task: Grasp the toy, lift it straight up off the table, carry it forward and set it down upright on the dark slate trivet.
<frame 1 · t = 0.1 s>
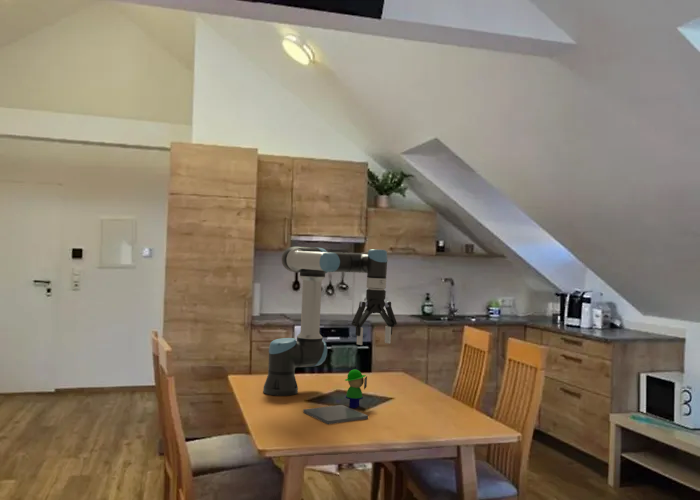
hand: (373, 343, 235), 28 cm above the table, fingers open, 13 cm apart
trivet: (335, 415, 233), on the table
toy: (354, 406, 249), on the table
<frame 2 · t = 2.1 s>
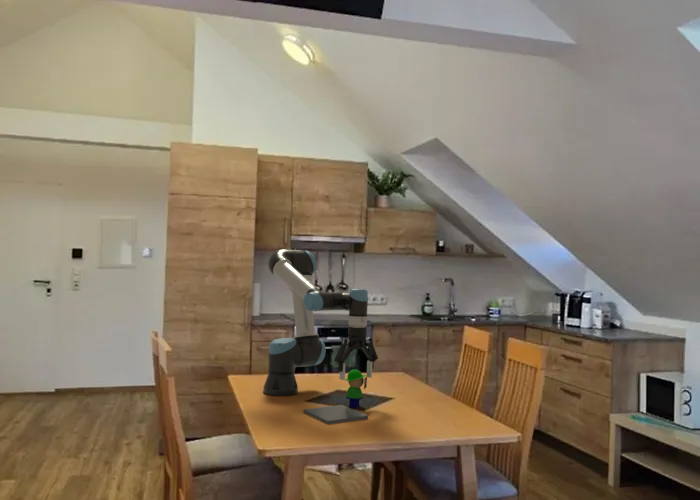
hand: (355, 378, 248), 11 cm above the table, fingers open, 13 cm apart
nothing on the table moved.
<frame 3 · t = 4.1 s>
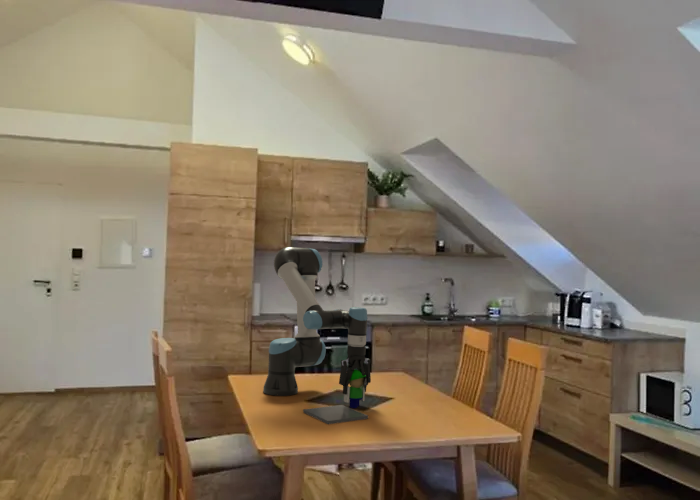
hand: (354, 401, 248), 2 cm above the table, fingers closed on toy, 7 cm apart
toy: (354, 406, 249), on the table, touching gripper
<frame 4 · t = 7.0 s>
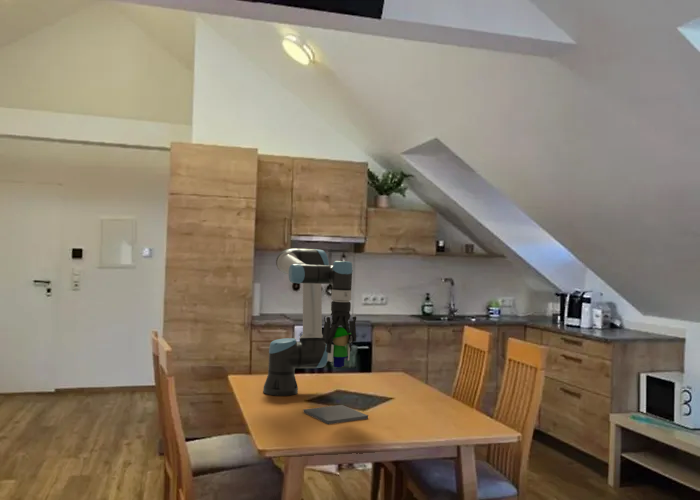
hand: (338, 360, 233), 21 cm above the table, fingers closed on toy, 7 cm apart
toy: (338, 366, 233), point 19 cm above the table, touching gripper
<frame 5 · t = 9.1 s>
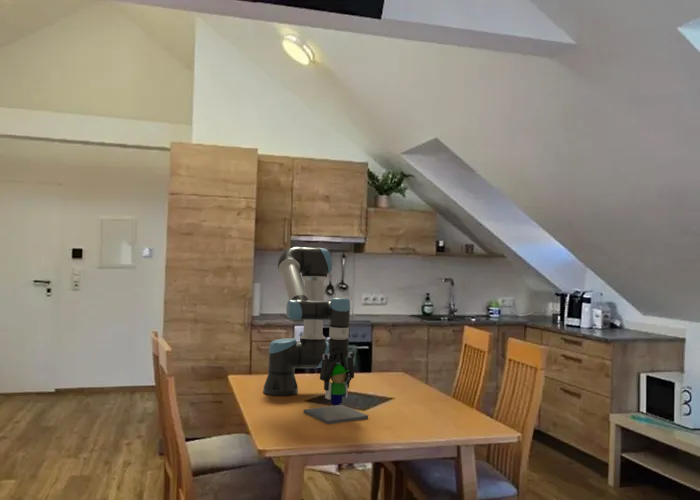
hand: (336, 397, 233), 7 cm above the table, fingers closed on toy, 7 cm apart
toy: (336, 403, 233), point 5 cm above the table, touching gripper
when the fingers open (4 cm above the table, at t = 10.4 s): toy drops 1 cm, resting on trivet.
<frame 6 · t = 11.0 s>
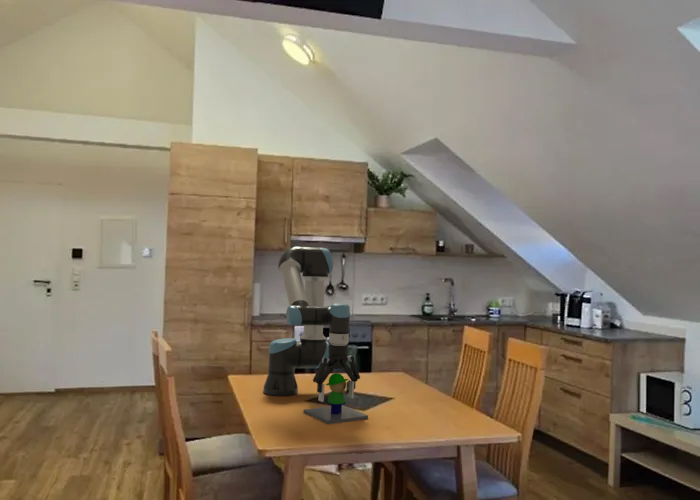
hand: (336, 399, 233), 6 cm above the table, fingers open, 13 cm apart
toy: (335, 412, 233), point 1 cm above the table, touching trivet
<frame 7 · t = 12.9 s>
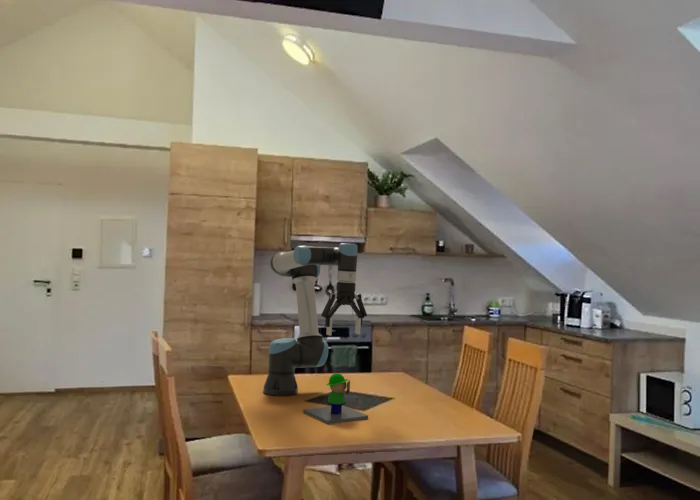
hand: (343, 334, 244), 30 cm above the table, fingers open, 13 cm apart
nothing on the table moved.
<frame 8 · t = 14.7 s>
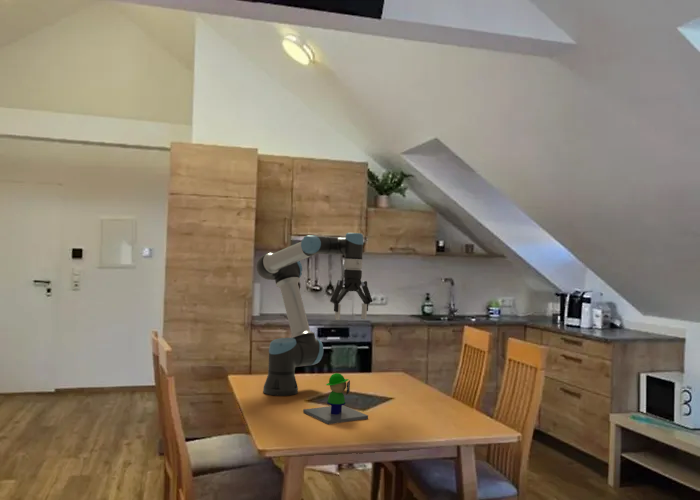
hand: (350, 319, 257), 35 cm above the table, fingers open, 13 cm apart
nothing on the table moved.
at the end: toy inside the target area on the trivet (0.2 cm from its centre), point 1.0 cm above the trivet's base; toy tilted 0°; the gripper is holding nothing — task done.
